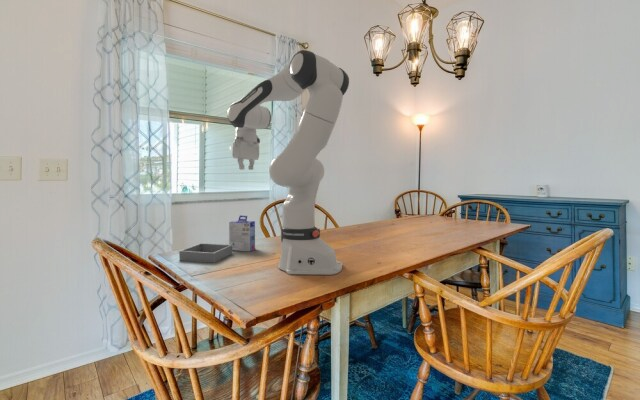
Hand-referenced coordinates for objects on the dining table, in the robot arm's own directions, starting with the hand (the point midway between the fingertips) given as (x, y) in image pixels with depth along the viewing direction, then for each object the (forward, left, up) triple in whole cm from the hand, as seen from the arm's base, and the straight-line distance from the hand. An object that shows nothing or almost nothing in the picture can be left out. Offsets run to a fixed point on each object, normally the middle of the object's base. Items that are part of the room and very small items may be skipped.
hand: (246, 169), depth 149 cm
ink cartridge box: (-2, +9, -34) cm, 35 cm away
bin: (+6, +23, -34) cm, 42 cm away
